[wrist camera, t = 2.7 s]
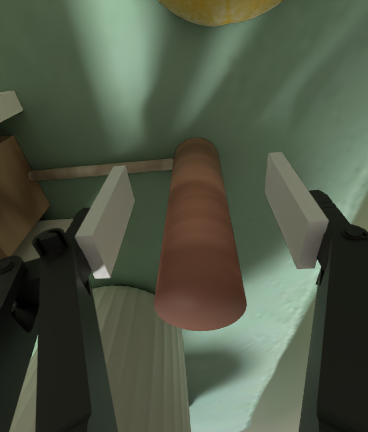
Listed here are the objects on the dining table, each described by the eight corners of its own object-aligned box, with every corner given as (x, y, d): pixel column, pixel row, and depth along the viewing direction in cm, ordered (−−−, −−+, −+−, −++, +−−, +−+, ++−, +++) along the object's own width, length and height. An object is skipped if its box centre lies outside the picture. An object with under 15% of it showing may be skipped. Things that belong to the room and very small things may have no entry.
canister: (45, 331, 34) (-98, 630, 17) (52, 240, 24) (-287, 764, 7) (172, 357, 38) (155, 626, 21) (227, 287, 27) (281, 710, 10)
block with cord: (219, 192, 20) (243, 347, 10) (-17, 210, 22) (-180, 356, 12) (217, 114, 16) (250, 241, 7) (-65, 142, 18) (-350, 275, 9)
